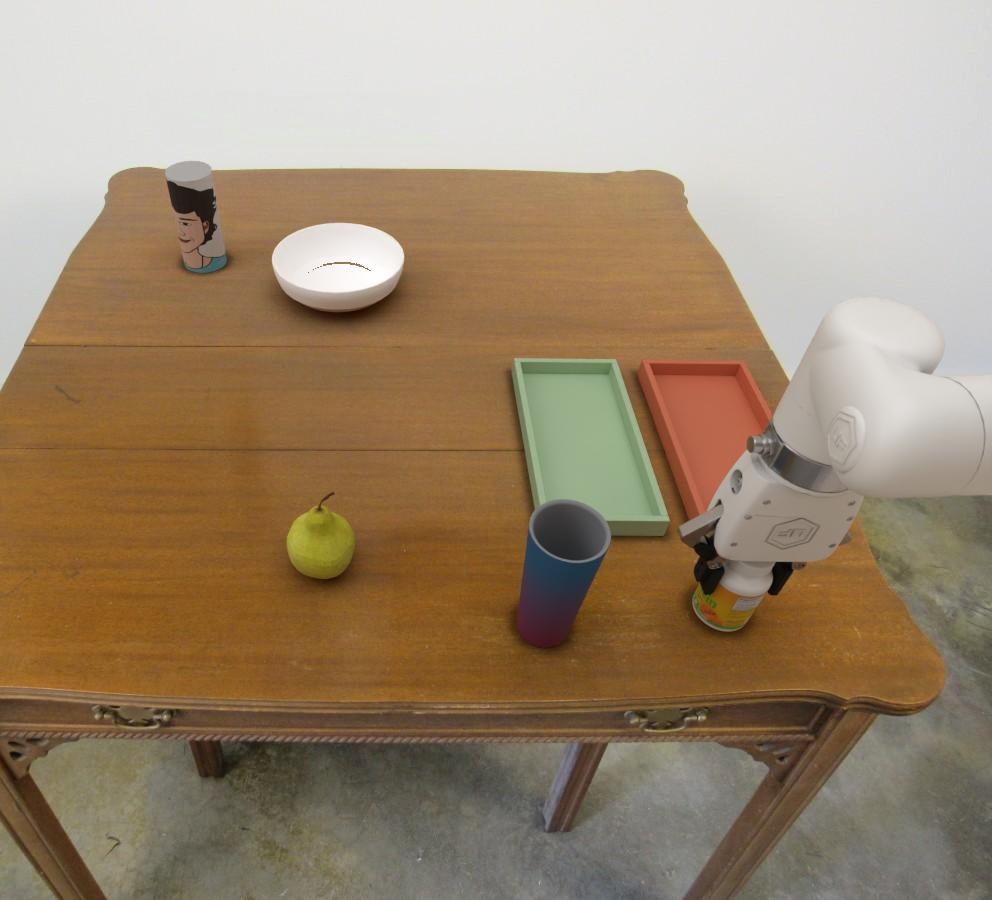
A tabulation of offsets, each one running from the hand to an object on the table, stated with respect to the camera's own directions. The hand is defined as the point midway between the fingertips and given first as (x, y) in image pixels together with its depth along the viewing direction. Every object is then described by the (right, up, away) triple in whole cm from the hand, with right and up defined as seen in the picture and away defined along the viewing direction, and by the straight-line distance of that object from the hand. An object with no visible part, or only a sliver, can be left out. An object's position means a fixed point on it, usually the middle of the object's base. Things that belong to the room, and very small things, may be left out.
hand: (735, 581), depth 70 cm
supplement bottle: (0, -4, +4) cm, 5 cm away
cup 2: (-18, -5, +2) cm, 19 cm away
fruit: (-40, 0, +7) cm, 41 cm away
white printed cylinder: (-63, +43, +48) cm, 90 cm away
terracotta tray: (+7, +13, +20) cm, 25 cm away
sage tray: (-10, +13, +20) cm, 26 cm away
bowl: (-41, +37, +43) cm, 70 cm away
